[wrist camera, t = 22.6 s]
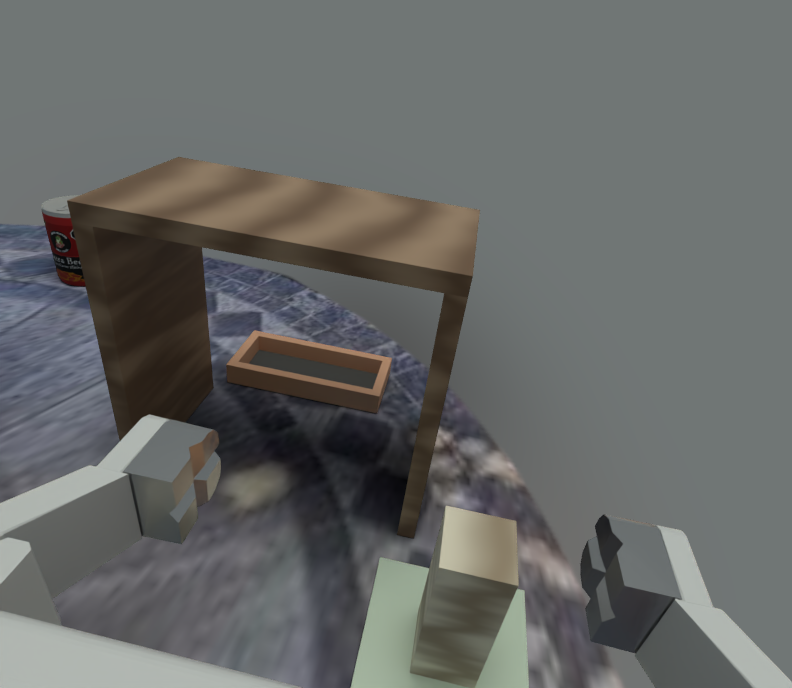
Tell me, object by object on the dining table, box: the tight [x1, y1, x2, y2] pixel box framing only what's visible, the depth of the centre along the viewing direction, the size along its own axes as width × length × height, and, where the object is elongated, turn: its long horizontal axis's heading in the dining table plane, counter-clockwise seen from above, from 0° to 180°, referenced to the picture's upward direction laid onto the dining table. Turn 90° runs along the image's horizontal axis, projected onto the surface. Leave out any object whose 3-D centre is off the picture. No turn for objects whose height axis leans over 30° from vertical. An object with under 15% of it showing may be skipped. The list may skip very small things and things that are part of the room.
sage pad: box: [351, 557, 529, 688], centre depth 37 cm, size 12×12×1 cm
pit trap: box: [226, 330, 392, 413], centre depth 62 cm, size 18×8×2 cm, turn 80°
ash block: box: [410, 506, 518, 688], centre depth 34 cm, size 4×4×12 cm
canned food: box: [41, 196, 86, 286], centre depth 74 cm, size 8×8×11 cm
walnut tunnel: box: [67, 157, 480, 538], centre depth 45 cm, size 27×14×26 cm, turn 80°
